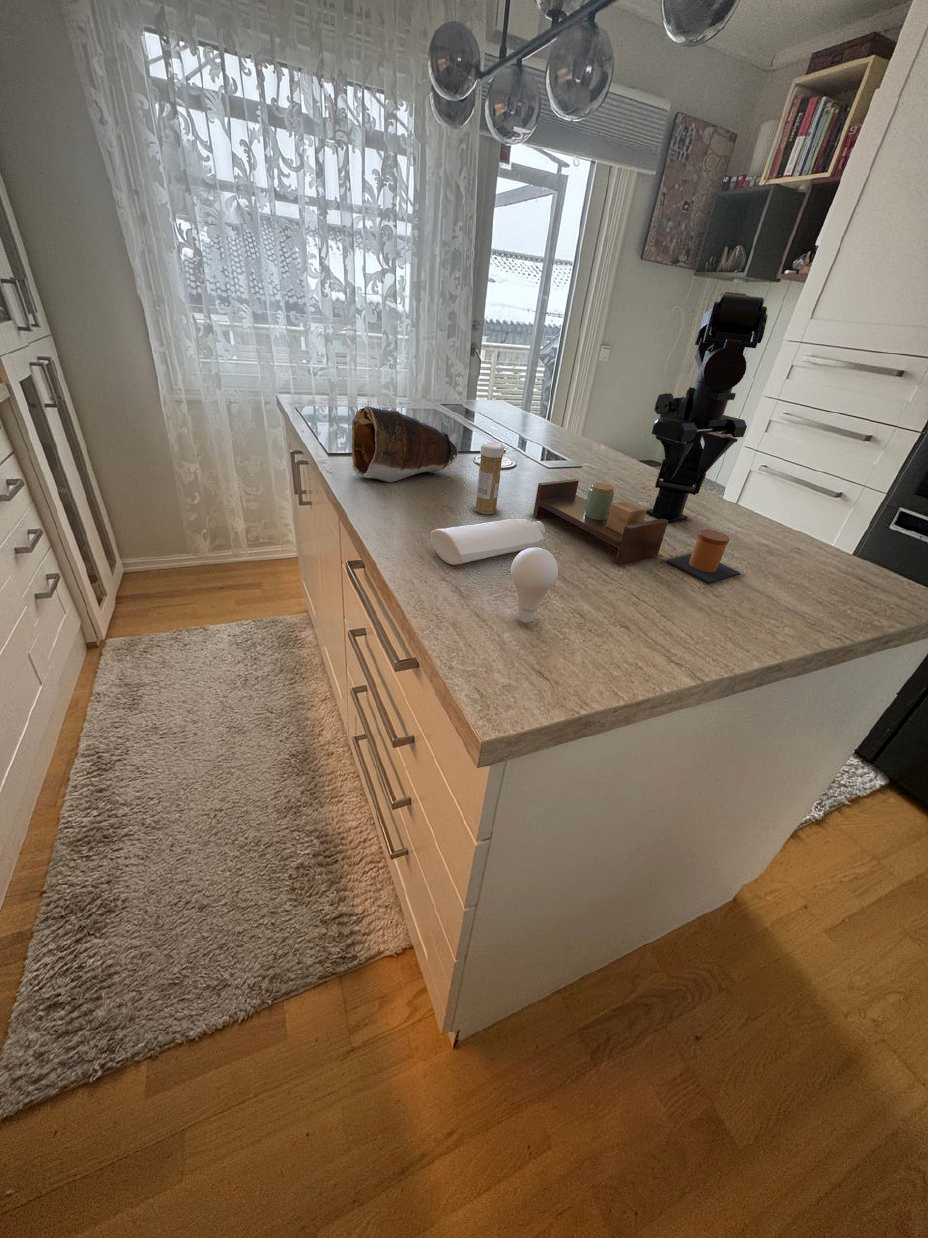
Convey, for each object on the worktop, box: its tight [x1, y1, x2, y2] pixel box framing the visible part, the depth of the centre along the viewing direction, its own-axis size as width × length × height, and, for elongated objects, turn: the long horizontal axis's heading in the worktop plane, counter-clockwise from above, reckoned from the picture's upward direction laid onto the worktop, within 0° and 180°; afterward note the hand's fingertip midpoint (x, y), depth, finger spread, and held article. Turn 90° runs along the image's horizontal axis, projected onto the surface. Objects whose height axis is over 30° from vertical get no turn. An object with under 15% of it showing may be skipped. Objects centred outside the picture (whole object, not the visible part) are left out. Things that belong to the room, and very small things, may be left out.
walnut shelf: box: [532, 478, 669, 566], centre depth 99 cm, size 10×24×7 cm, turn 32°
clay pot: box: [351, 406, 459, 484], centre depth 121 cm, size 15×15×25 cm
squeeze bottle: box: [430, 518, 546, 566], centre depth 89 cm, size 10×20×5 cm, turn 122°
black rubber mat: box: [665, 553, 741, 585], centre depth 92 cm, size 9×9×1 cm
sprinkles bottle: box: [474, 442, 505, 515], centre depth 103 cm, size 5×5×13 cm
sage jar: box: [584, 482, 615, 520], centre depth 97 cm, size 5×5×6 cm
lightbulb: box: [510, 547, 559, 624], centre depth 68 cm, size 6×6×11 cm
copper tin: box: [689, 528, 730, 572], centre depth 90 cm, size 5×5×6 cm
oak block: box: [606, 500, 648, 534], centre depth 93 cm, size 4×4×4 cm
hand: (685, 476), depth 94 cm, fingers open, 9 cm apart
